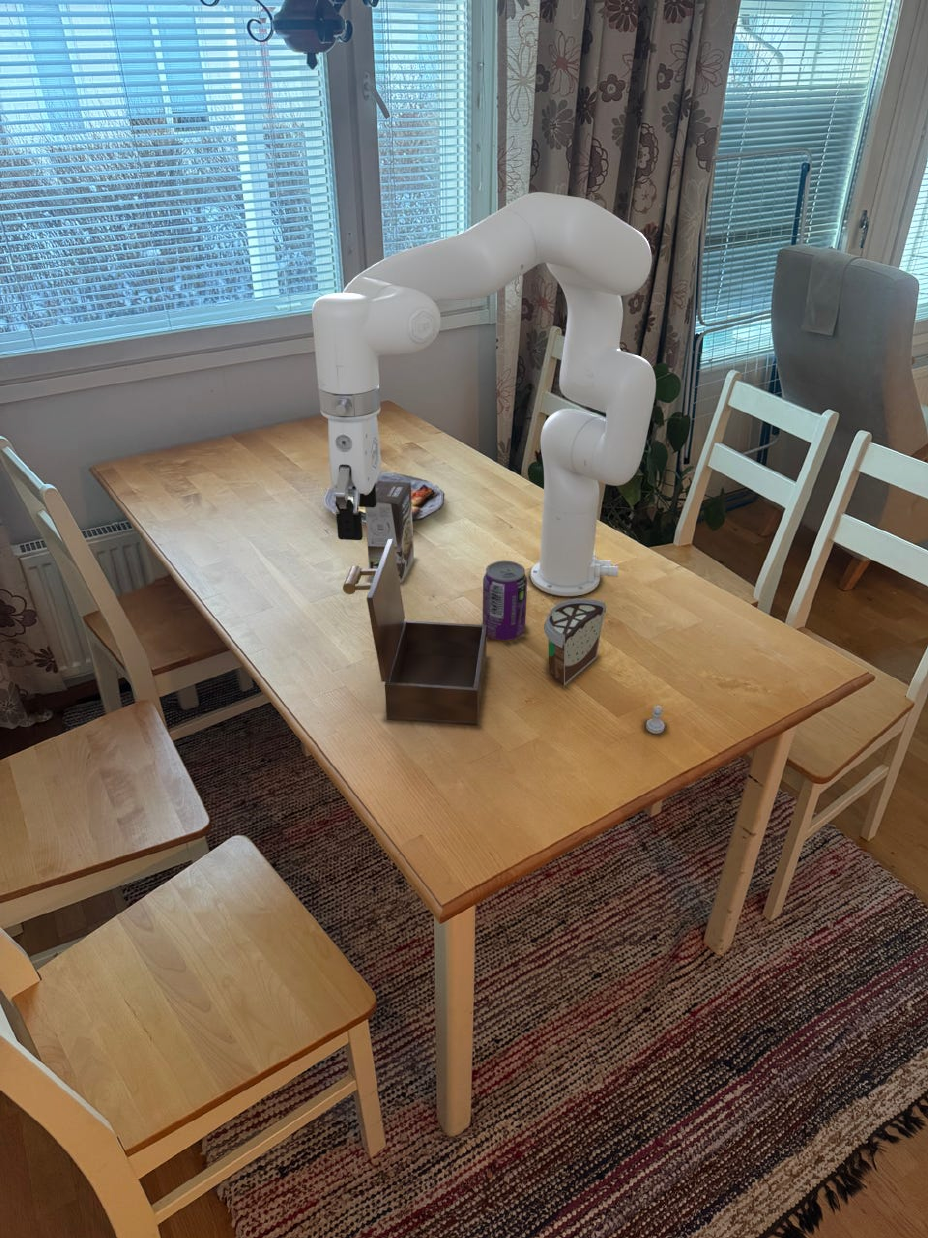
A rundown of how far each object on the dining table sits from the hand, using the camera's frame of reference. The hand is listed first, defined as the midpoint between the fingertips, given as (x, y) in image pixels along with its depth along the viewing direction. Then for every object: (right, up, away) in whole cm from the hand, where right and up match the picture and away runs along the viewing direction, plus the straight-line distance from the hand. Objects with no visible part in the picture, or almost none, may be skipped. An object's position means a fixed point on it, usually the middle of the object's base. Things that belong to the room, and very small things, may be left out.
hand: (358, 521), depth 116 cm
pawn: (+42, -29, +6) cm, 51 cm away
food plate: (-2, +11, +65) cm, 66 cm away
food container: (+30, -21, +19) cm, 41 cm away
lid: (+4, -12, +6) cm, 14 cm away
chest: (+11, -24, +14) cm, 29 cm away
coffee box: (+1, -4, +43) cm, 43 cm away
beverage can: (+21, -16, +26) cm, 37 cm away
